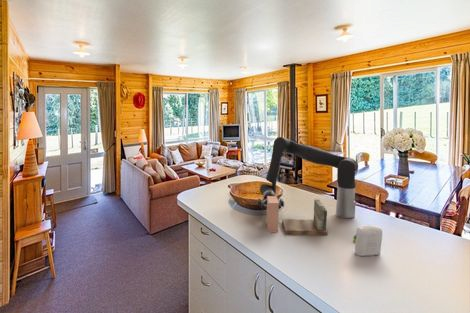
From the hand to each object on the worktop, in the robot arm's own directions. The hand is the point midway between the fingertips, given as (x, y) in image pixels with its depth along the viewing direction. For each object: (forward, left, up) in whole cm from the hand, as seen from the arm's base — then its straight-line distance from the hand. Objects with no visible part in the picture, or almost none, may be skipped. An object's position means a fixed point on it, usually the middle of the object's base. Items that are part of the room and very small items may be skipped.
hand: (271, 207), depth 140 cm
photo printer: (-38, +30, -9) cm, 49 cm away
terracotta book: (0, +6, -9) cm, 11 cm away
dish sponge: (-43, +16, -9) cm, 47 cm away
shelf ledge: (-16, +7, -9) cm, 19 cm away
